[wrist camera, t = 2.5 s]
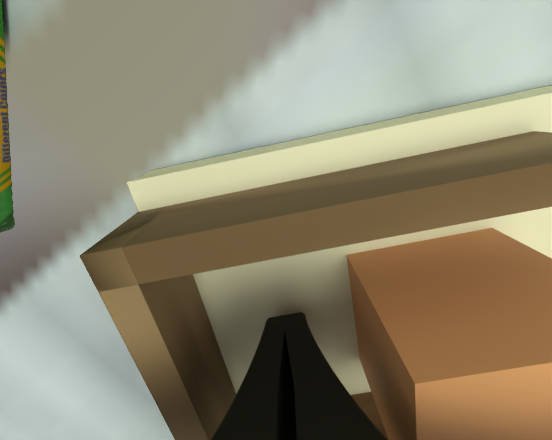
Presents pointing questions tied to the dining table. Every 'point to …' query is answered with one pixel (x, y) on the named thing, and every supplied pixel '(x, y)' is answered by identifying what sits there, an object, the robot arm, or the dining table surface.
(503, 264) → the cube
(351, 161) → the deck
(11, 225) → the chalk box
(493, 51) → the dining table surface
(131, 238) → the cubby
